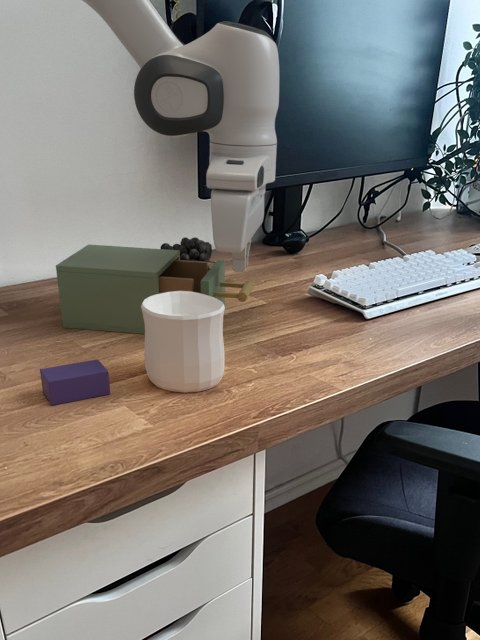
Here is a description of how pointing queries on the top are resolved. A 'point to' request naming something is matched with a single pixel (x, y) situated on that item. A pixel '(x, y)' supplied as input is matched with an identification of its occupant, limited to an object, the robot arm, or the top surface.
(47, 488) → the top surface
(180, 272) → the drawer
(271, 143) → the robot arm
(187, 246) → the fruit
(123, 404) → the top surface
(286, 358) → the top surface
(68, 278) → the cabinet
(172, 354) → the cup
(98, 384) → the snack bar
